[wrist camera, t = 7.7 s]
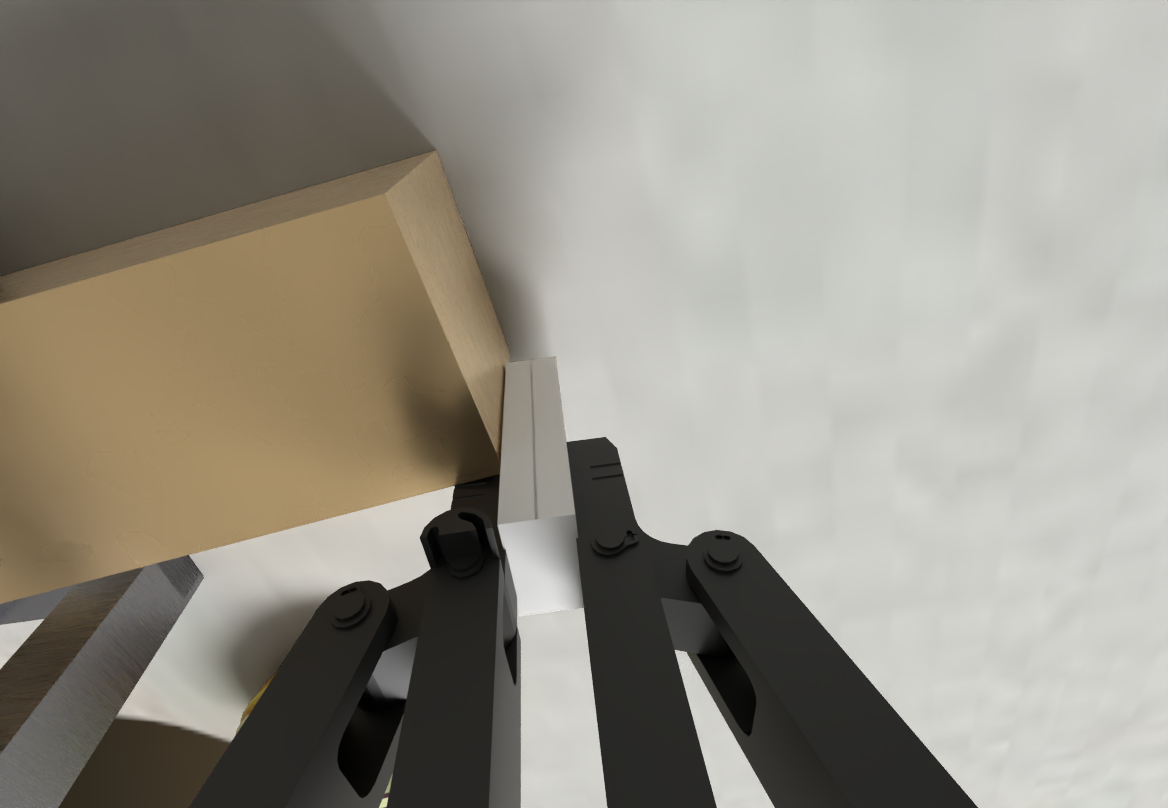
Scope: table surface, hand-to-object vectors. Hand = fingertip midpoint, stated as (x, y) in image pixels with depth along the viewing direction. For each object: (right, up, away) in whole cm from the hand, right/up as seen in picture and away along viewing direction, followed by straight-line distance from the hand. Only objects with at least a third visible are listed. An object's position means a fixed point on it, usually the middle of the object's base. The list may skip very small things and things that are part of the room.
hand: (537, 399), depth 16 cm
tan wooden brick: (-11, +1, 0) cm, 11 cm away
